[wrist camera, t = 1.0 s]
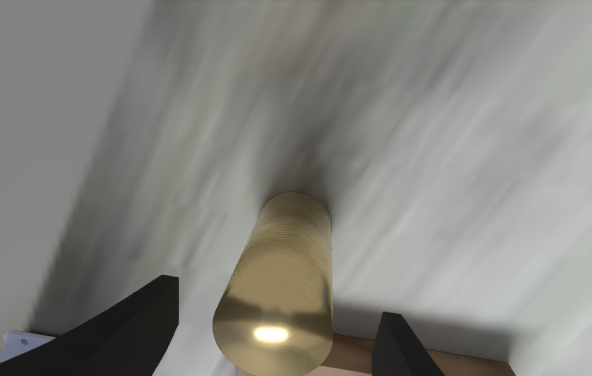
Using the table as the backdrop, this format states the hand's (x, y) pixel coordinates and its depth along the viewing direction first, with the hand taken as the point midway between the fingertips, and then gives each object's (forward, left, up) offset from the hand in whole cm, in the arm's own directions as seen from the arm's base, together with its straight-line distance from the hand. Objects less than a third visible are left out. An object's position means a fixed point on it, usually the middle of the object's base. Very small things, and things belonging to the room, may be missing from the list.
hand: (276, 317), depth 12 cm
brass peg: (0, 0, -7) cm, 7 cm away
